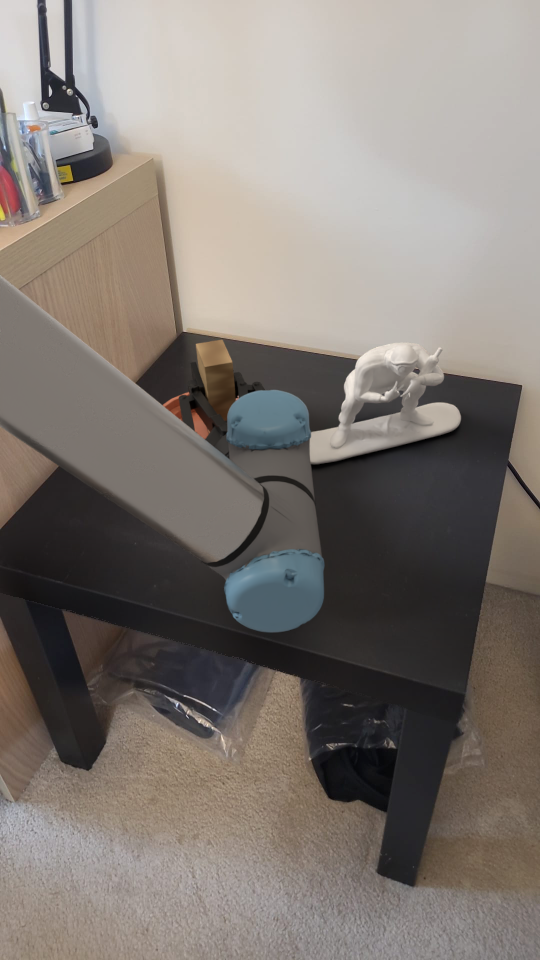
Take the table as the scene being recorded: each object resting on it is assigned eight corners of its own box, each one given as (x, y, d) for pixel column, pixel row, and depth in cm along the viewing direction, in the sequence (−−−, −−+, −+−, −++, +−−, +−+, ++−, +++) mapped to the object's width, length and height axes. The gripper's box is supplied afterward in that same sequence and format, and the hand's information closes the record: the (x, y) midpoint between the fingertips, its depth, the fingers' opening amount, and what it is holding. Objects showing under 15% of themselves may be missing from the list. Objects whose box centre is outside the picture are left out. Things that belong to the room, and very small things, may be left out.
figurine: (308, 492, 87) (309, 380, 76) (274, 435, 96) (271, 327, 85) (483, 447, 93) (508, 336, 82) (436, 397, 102) (452, 292, 91)
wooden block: (213, 448, 94) (204, 366, 85) (205, 423, 98) (195, 343, 90) (239, 443, 94) (232, 361, 86) (229, 419, 99) (222, 339, 90)
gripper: (181, 510, 79) (153, 400, 96) (318, 482, 82) (267, 380, 99) (173, 460, 74) (145, 354, 91) (319, 432, 77) (266, 334, 94)
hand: (209, 368), depth 95 cm, fingers closed on wooden block, 4 cm apart
